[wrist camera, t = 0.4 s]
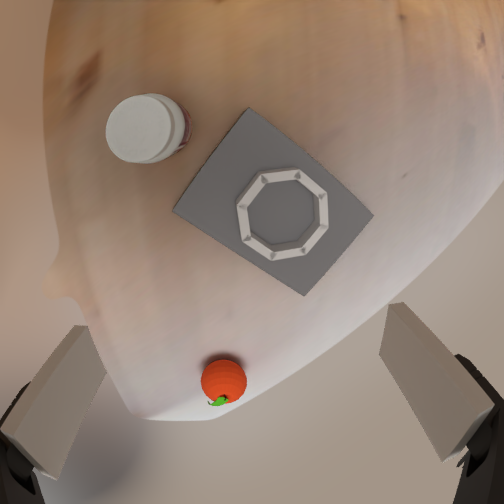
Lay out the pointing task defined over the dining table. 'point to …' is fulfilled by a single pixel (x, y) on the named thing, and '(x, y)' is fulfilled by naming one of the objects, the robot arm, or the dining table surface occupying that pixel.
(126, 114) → the pill bottle
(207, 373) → the clementine
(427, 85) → the dining table surface
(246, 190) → the collar plate
